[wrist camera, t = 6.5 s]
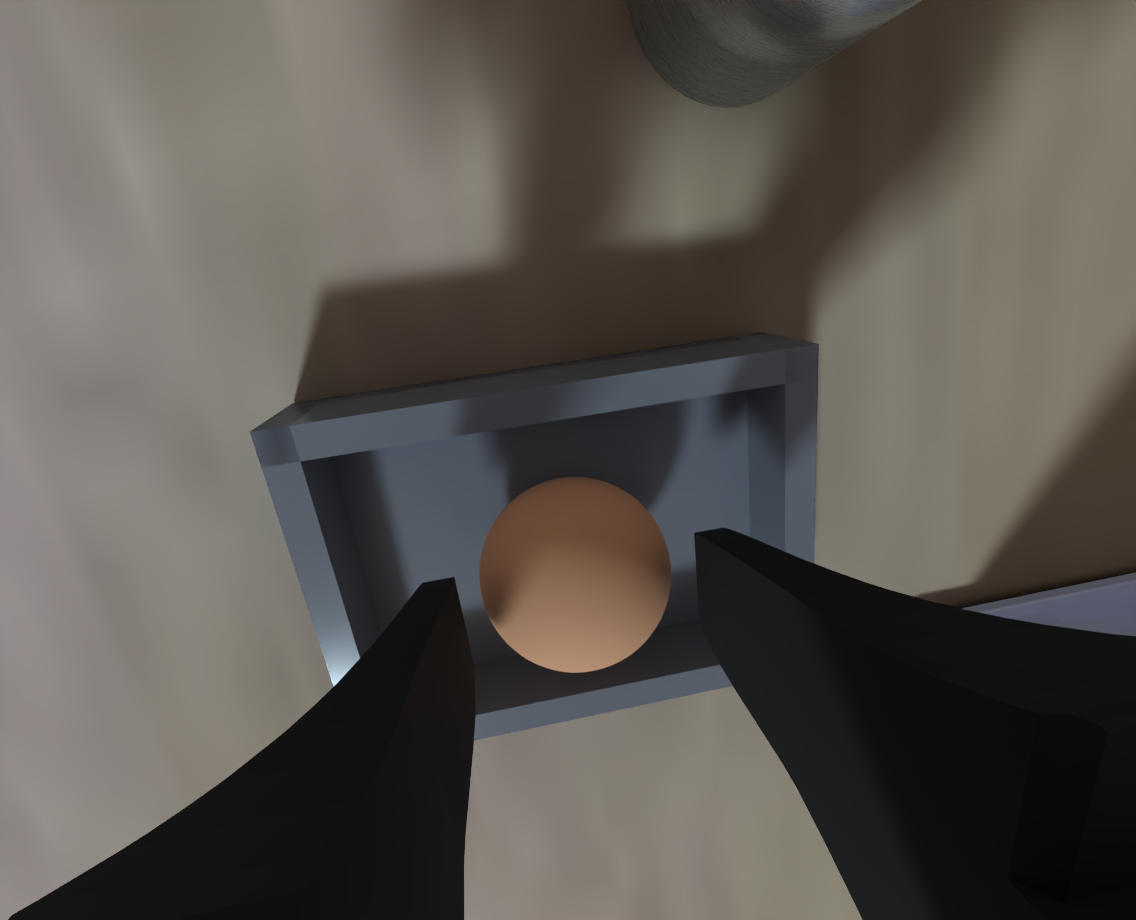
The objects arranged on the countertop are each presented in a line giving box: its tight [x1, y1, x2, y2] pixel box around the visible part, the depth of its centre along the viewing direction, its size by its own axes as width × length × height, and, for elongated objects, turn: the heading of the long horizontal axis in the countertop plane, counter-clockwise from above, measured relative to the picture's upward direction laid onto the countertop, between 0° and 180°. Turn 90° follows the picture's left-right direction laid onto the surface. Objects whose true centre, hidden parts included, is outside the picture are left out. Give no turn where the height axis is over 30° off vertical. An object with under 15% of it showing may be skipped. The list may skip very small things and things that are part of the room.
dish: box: [250, 333, 819, 740], centre depth 13 cm, size 11×8×2 cm
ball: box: [479, 477, 671, 673], centre depth 12 cm, size 4×4×4 cm
